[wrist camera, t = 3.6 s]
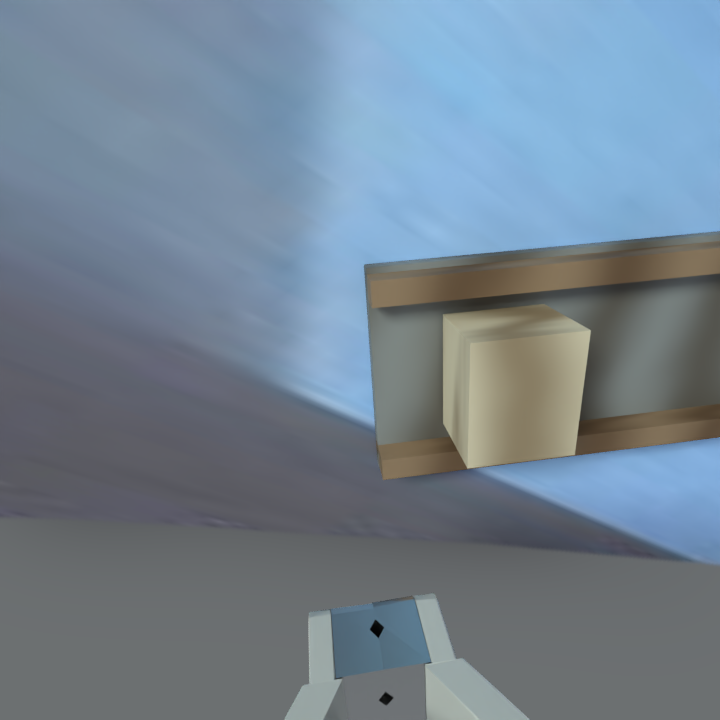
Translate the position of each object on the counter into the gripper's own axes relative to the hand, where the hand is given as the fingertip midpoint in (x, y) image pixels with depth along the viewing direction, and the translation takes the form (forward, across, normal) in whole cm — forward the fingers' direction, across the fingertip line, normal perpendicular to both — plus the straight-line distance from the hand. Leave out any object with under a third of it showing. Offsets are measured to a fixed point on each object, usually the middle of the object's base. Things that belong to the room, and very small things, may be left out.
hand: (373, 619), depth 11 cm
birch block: (+14, -8, 0) cm, 16 cm away
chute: (+14, -14, 0) cm, 20 cm away
